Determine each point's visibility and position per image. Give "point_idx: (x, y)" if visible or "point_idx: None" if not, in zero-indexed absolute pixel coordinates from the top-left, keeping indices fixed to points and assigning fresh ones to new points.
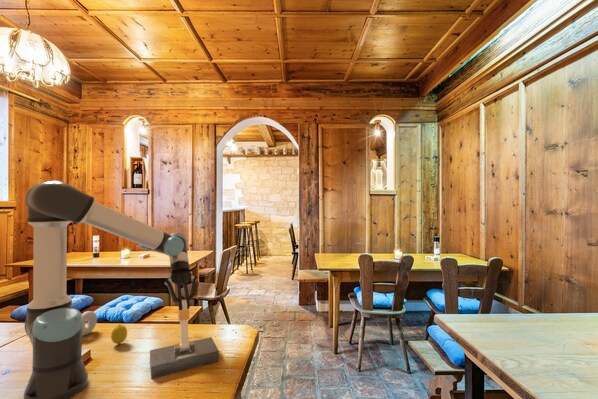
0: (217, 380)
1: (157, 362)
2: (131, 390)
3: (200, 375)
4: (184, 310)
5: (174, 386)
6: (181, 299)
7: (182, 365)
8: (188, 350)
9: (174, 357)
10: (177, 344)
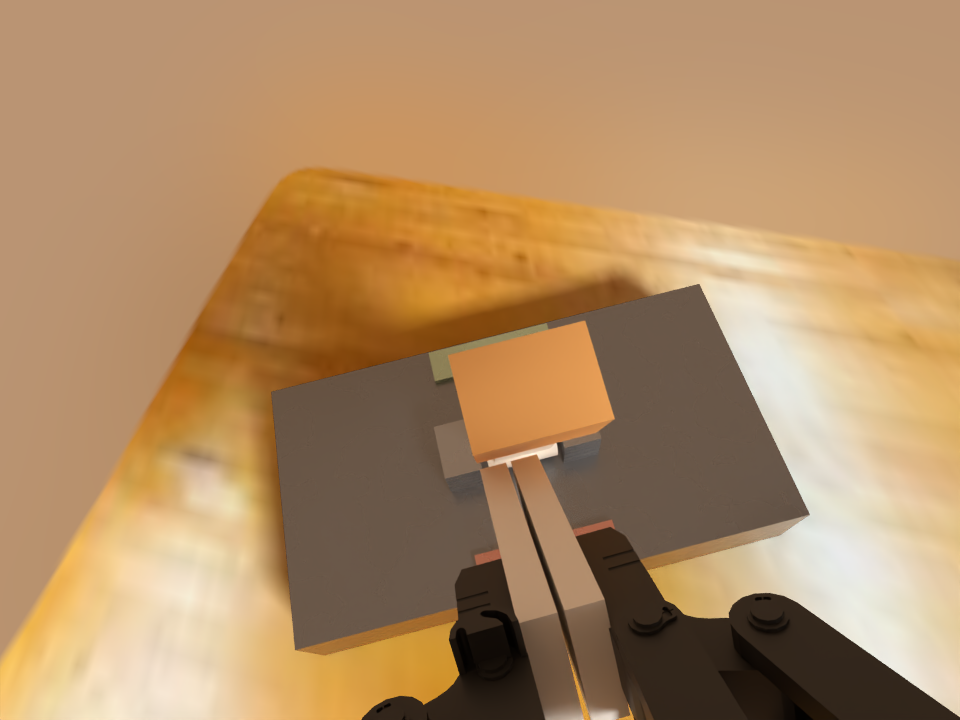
0: (328, 250)
1: (675, 321)
2: (752, 249)
3: (411, 304)
4: (516, 377)
5: (537, 242)
6: (617, 618)
7: None
8: None
9: None
10: None
